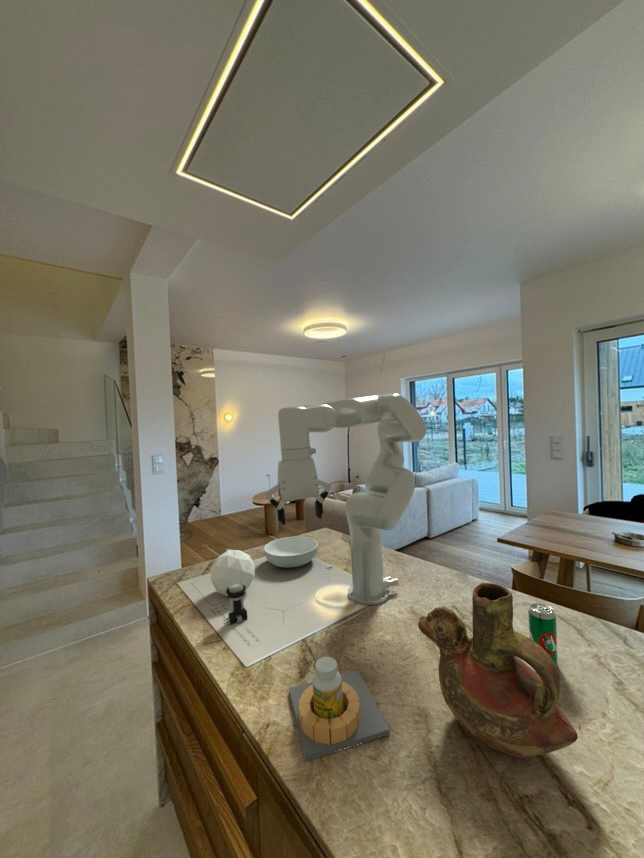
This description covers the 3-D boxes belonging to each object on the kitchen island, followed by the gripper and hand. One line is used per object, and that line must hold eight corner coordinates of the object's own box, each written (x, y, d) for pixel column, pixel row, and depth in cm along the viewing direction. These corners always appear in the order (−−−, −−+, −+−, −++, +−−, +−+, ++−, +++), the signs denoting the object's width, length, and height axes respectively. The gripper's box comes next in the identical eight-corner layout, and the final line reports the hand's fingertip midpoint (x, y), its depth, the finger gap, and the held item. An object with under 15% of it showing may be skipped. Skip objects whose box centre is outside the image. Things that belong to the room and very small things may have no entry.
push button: (227, 630, 94) (224, 593, 93) (220, 621, 98) (218, 586, 98) (250, 621, 97) (248, 585, 97) (243, 612, 102) (241, 579, 101)
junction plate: (358, 674, 75) (358, 669, 75) (389, 734, 61) (389, 729, 61) (289, 692, 71) (289, 687, 71) (305, 761, 57) (305, 755, 57)
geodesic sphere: (198, 572, 117) (206, 544, 110) (237, 558, 127) (247, 532, 120) (215, 612, 109) (226, 585, 102) (255, 594, 118) (267, 569, 111)
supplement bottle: (348, 708, 65) (345, 659, 65) (335, 732, 61) (333, 678, 60) (322, 699, 68) (320, 651, 67) (309, 721, 63) (306, 669, 63)
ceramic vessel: (441, 665, 76) (436, 553, 76) (589, 739, 58) (585, 591, 57) (397, 715, 64) (391, 582, 64) (566, 828, 46) (560, 643, 45)
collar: (348, 686, 71) (347, 674, 71) (369, 732, 60) (368, 718, 60) (294, 700, 68) (294, 687, 68) (307, 752, 57) (306, 737, 57)
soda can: (532, 651, 79) (530, 599, 79) (558, 660, 76) (557, 606, 76) (528, 664, 75) (526, 610, 75) (556, 674, 72) (554, 617, 72)
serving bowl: (329, 557, 138) (328, 539, 138) (298, 579, 121) (296, 560, 120) (287, 548, 150) (286, 532, 149) (253, 568, 132) (252, 550, 132)
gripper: (323, 450, 96) (328, 511, 97) (260, 456, 91) (265, 521, 92) (332, 452, 89) (337, 518, 90) (264, 460, 84) (270, 530, 85)
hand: (301, 520), depth 91 cm, fingers open, 9 cm apart
